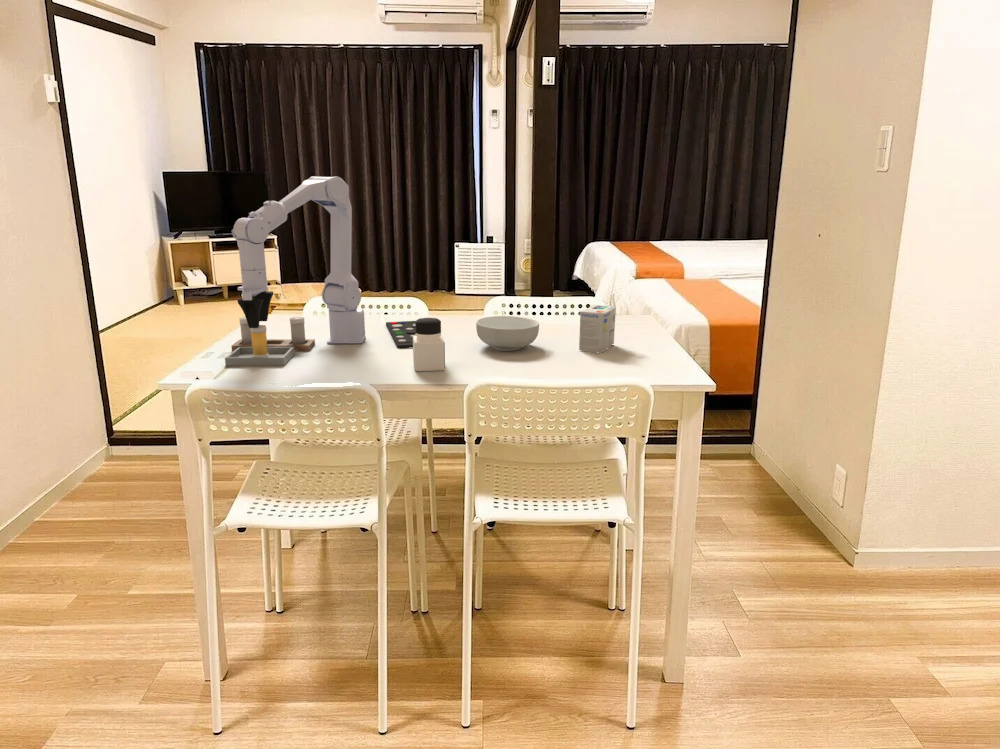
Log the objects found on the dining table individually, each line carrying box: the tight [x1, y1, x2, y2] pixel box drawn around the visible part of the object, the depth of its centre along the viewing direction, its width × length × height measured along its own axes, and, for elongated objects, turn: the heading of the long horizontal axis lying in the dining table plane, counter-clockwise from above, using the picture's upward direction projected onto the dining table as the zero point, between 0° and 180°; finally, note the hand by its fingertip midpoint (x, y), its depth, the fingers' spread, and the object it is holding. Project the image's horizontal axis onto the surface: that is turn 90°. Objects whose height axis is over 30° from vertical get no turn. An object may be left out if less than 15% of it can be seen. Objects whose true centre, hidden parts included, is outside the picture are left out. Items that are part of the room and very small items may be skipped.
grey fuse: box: [289, 316, 306, 344], centre depth 191 cm, size 4×4×8 cm
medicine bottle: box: [412, 316, 446, 373], centre depth 173 cm, size 7×7×12 cm
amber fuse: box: [250, 324, 269, 357], centre depth 178 cm, size 4×4×8 cm
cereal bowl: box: [475, 315, 540, 352], centre depth 193 cm, size 17×17×7 cm
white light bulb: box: [239, 316, 252, 344], centre depth 190 cm, size 4×4×8 cm
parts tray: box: [224, 347, 296, 367], centre depth 179 cm, size 14×11×2 cm
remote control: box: [385, 320, 416, 349], centre depth 207 cm, size 11×30×2 cm, turn 14°
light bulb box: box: [578, 304, 617, 354], centre depth 193 cm, size 11×7×11 cm, turn 154°
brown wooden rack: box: [231, 338, 316, 352], centre depth 191 cm, size 20×7×2 cm, turn 92°
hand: (258, 324), depth 177 cm, fingers open, 7 cm apart
